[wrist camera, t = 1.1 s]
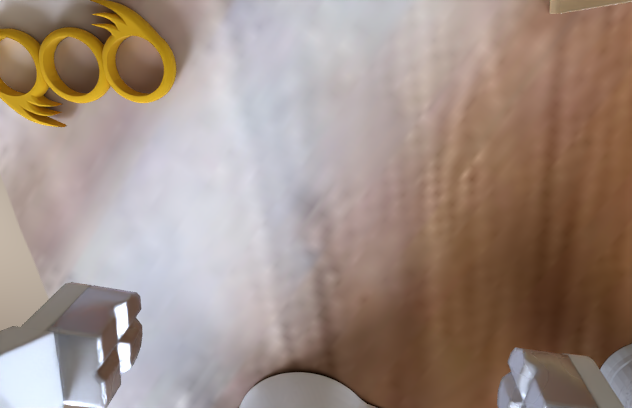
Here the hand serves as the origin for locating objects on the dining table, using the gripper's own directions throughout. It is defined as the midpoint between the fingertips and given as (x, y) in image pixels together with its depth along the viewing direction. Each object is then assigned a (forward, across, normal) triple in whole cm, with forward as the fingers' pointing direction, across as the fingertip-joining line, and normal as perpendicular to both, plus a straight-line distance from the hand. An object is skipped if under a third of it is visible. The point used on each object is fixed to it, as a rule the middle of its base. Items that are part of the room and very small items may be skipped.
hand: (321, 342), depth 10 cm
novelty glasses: (+31, -22, -1) cm, 38 cm away
